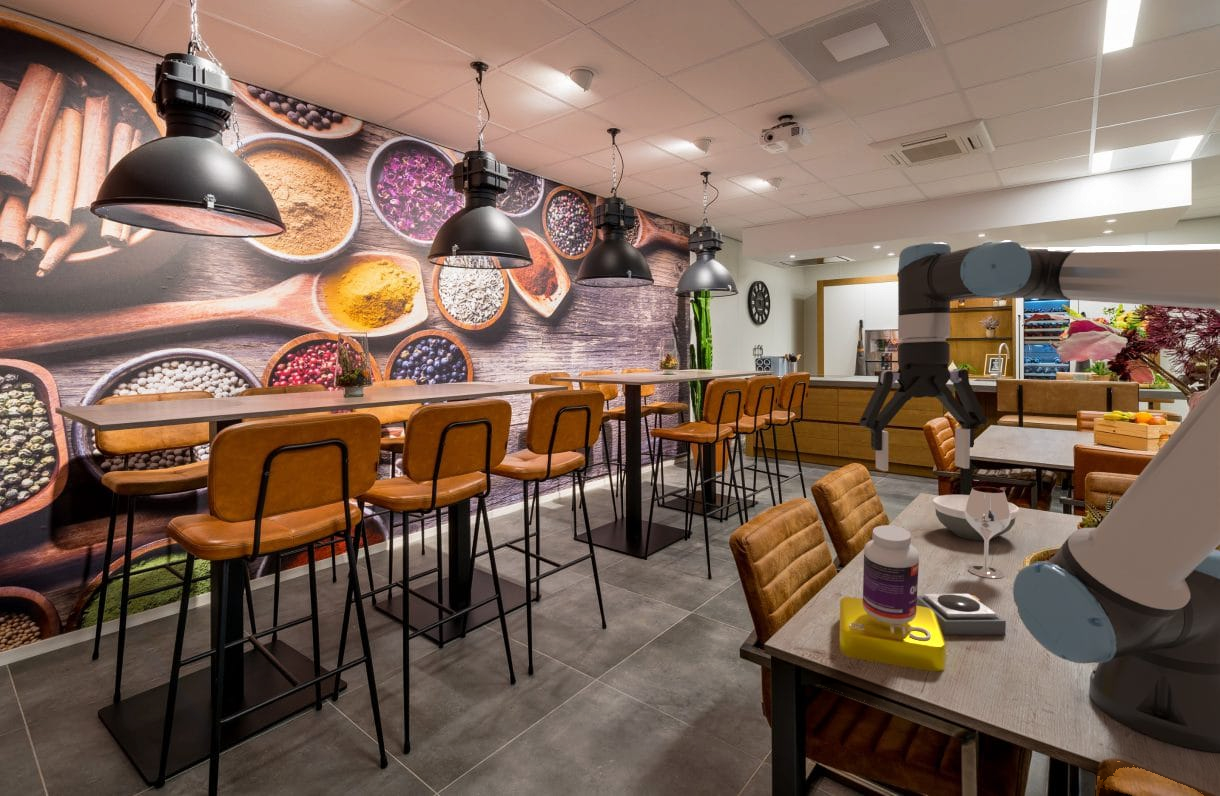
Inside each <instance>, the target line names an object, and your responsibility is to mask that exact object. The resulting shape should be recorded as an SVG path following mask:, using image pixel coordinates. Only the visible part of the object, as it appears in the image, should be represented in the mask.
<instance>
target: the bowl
mask: <svg viewBox="0 0 1220 796" xmlns="http://www.w3.org/2000/svg"><path fill="white" fill-rule="evenodd" d="M969 496H970V494H943V495H939V496H938V495H937V496H935V497H934V498H933V499H932V503H933V505H934V508H935V516H936V517H937V519H938V521H939V522H940V523H941V524H942V525H943V526H944V527H945V528H947V530H950V531H951V532H953V534H955V535H956V536H958V537H960V538H963V539H969V540H973V541H984V539H983V537H982V536H981V535H980V534H979V533H978V532H977V531H976V530H975V529H974V528H973V527H971V526H970V524H969V523H968V522H967V520H966V518H965V508H966V505H967V501H968V499H969ZM1007 502H1008V506H1009V510H1010V515H1011V521H1010V523H1009V525H1008V526H1007V527H1006V528H1005V529H1004V530H1003V531H1001V532H999V533H998V534H996V535H994V536H993V537H992V538H991V539H990V540H992V539H994V538H996V537H998V536H1001V535H1004V534H1005V533H1007V532H1008V531H1010V530H1011V529H1012V528H1013V526H1014V525H1015V522H1016V517H1017V514H1018V513H1019V511H1020V508H1019V507H1018V506H1017V505H1016V504H1014V503H1012V502H1009V501H1007Z"/></svg>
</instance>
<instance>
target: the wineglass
mask: <svg viewBox="0 0 1220 796" xmlns="http://www.w3.org/2000/svg"><path fill="white" fill-rule="evenodd" d="M969 495H970V496H969V499H968V501H967V505H966V508H965V518H966V520H967V522H968V523H969V524H970V526H971V527H973V528H974V529H975V530H976V531H977V532H978V533H979V534H980V535H981V536H982V537H983V539H984V540H983V541H984V542H983V543H984V544H983V565H972V566H969V567H968V572H969V573H971V574H973V575H974V576H978V577H980V578H986V579H988V578H989V579H1001V578H1004V576H1005V573H1004V572H1002V571H1001V570H1000V569H997V568H995V567H994V568H993V567H990V566H989V546H990V545H989V543H990V540H992V539H991V538H992V537H993V536H994V535H996V534H998V533H999V532H1001V531H1003V530H1004V529H1005V528H1006V527H1007V526H1008V525H1009V523H1010V521H1011V515H1010V510H1009V506H1008V502H1009V501H1008V500H1007V495H1006V492H1005V490H1003V489H1001V488H996V487H991V486H974V487H972V488H971V491H970V493H969Z"/></svg>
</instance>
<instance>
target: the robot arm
mask: <svg viewBox="0 0 1220 796" xmlns="http://www.w3.org/2000/svg"><path fill="white" fill-rule="evenodd" d="M898 260H899V261H898V269H897V270H898V271H897V288H898V289H897V290H898V291H897V292H898V295H897V296H898V297H897V299H898V301H897V302H898V304H897V306H898V307H897V309H898V310H897V312H898V314H897V315H898V316H897V323H898V324H897V325H898V326H897V338H898V340H901V342H899V343H898V345H897V364H898V369H897V371H896V372H893V371H889V370H882V371H879V373H878V376H877V377H878V378H877V380H878V381H877V385H876V387H875V388H874V391H873V393H872V395H871V397H870V399H869V401H868V403H867V405H866V407H865V409H864V411H863V413H862V415H861V418H860V419H859V420H858V423H859V425H860V427H863V428H866V429H869V431H870V447H871V450H873V451H875V469H876V470H879V471H882V472H888V471H889V431H887V430H885V428H886V427H887V426H888V425H889V423H890V422H891V421H892V420H893V419H894V418H895V416H896V415H897V414H898V413H899V411H900V410H901V409H902V408H903V407H904V405H905V404H906V403H907V402H908V401H910V400H911V399H912V398H916V399H918V398H921V399H922V398H935V399H937V400H938V401H939V402H940V403H941V404H942V405H943V406H944V408H945V409H946V411H948V413H949V414H950V415H951V416H952V417H953V418H954V420H955V421H956V422H957V424H958V425H959V426H960V427H958V426H957V427H955V429H954V431H955V432H954V436H955V437H954V466H955V467H959V468H962V469H964V470H965V469H970V464H971V463H970V462H971V461H970V458H971V457H970V456H971V453H970V452H971V448H974V446H975V430H978V429H979V428H980V426H982V425H986V424H987V422H988V419H987V417H986V414H985V413H984V411H983V408H982V407H981V404H980V403H979V400H978V398H977V396H976V393H975V392H974V390H973V388H972V387H973V386H971V383H970V378H969V377H970V376H969V371H968V370H967V369H966V368H964V369H962V368H954V369H953V370H949V367H948V366H949V364H950V360H951V359H950V358H951V357H950V355H951V354H950V351H951V350H950V349H951V348H950V345H951V343H949V341H946V339H949V338H950V337H951V302H955V301H964V300H965V301H966V300H973V299H1042V300H1043V299H1045V300H1062V301H1084V302H1100V303H1101V302H1102V303H1114V304H1115V303H1116V304H1131V305H1146V306H1159V307H1160V306H1161V307H1173V308H1174V307H1177V308H1192V309H1193V308H1194V309H1204V310H1218V311H1219V310H1220V243H1203V244H1202V243H1201V244H1197V243H1196V244H1164V245H1162V244H1160V245H1158V244H1157V245H1155V244H1154V245H1123V246H1122V245H1120V246H1119V245H1118V246H1117V245H1116V246H1115V245H1114V246H1113V245H1112V246H1085V247H1084V246H1082V247H1079V246H1078V247H1076V246H1074V247H1072V246H1071V247H1067V246H1066V247H1027V246H1022V245H1021V244H1019V242H1017V241H1014V240H1008V239H1007V240H1001V241H996V242H995V241H989V242H984V243H982V244H979V245H975V246H971V247H967V248H963V249H959V250H955V251H954V250H953V251H952V248H951V246H950V245H949V244H948V243H946V242H927V243H921V244H914V245H913V244H912V245H910V246H907V247H905V248H904V249H903V248H902V250H901V251H900V253H899V259H898ZM949 381H950V382H951V383H952V384H953V386H954V390H955V391H956V394H957V395H958V398H959V399H960V401H961V403H962V404H960V403H959V402H958V400H957V399H956V398H955V397H954V395H953V392H952V390H951V389H950V388H949V387H948V386H947V384H948V382H949ZM896 382H897V383H898V384H899V387H898V388H897V389H896V390H895V391H894V393H893V396H892V397H891V398H890V399H889V401H888V402H887V403H886V404H885V402H886V400H887V398H888V395H889V394H890V391H891V390H892V386H893V385H895V383H896ZM884 404H885V405H884ZM883 406H884V407H883ZM1219 546H1220V375H1219V376H1218V377H1217V379H1216V380H1215V381H1214V382H1213V383H1212V384H1211V386H1210V387H1209V389H1208V390H1207V391H1206V392H1205V394H1204V395H1203V396H1202V397H1201V399H1199V401H1197V403H1196V405H1194V406H1193V408H1192V410H1191V411H1190V412H1189V413H1188V414H1187V416H1186V417H1185V418H1184V419H1183V421H1181V423H1180V424H1179V426H1177V428H1176V429H1175V431H1174V432H1172V433H1171V436H1170V437H1169V438H1168V439H1167V441H1166V442H1164V444H1163V445H1162V446H1161V447H1160V449H1159V450H1158V451H1157V453H1156V454H1154V456H1153V458H1152V459H1151V460H1150V461H1149V462H1148V464H1147V465H1146V466H1145V467H1144V469H1143V470H1142V471H1141V472H1140V474H1139V475H1138V476H1137V477H1136V478H1135V480H1134V481H1133V482H1132V484H1131V485H1130V486H1129V487H1128V488H1127V489H1126V491H1125V492H1124V493H1123V495H1122V496H1121V497H1120V498H1119V500H1117V502H1116V503H1115V504H1114V505H1113V507H1112V508H1111V509H1110V510H1109V512H1108V513H1107V514H1106V515H1105V516H1104V518H1103V519H1102V520H1101V522H1100V523H1099V524H1098V526H1097V527H1083V528H1082V527H1081V528H1078V529H1076V530H1074V531H1073V532H1072V533H1071V534H1070V535H1069V536H1068V538H1067V539H1066V540H1065V541H1064V542H1063V544H1062V545H1061V546H1060V547H1059V549H1058V550H1057V552H1056V553H1055V554H1054V555H1053V556H1052V557H1051V558H1049V560H1047V561H1044V560H1043V561H1041V560H1040V561H1034V562H1033V563H1030V564H1029V565H1026V566H1025V567H1023V568H1022V569H1020V570H1019V571H1018V573H1017V575H1016V576H1015V578H1014V582H1013V587H1012V594H1013V601H1014V603H1015V605H1016V607H1017V613H1018V615H1019V618H1020V620H1021V622H1022V623H1023V625H1024V626H1025V628H1026V629H1027V631H1028V632H1029V634H1030V635H1031V636H1032V637H1033V638H1034V639H1035V640H1036V641H1037V642H1038V643H1039V644H1040V645H1041V646H1042V647H1043V648H1044V649H1045V650H1047V651H1048V652H1050V653H1051V654H1053V655H1055V656H1057V657H1058V658H1060V659H1062V660H1066V661H1068V662H1071V663H1077V664H1091V663H1096V664H1097V666H1096V667H1095V668H1093V669H1092V672H1091V673H1090V676H1089V691H1088V692H1089V696H1090V699H1091V700H1092V701H1093V702H1094V703H1095V704H1096V706H1097V707H1098V708H1099V709H1101V710H1102V711H1103V712H1105V713H1106V714H1107V715H1108V716H1110V717H1111V718H1113V719H1115V721H1117V722H1120V723H1121V724H1124V725H1125V726H1127V727H1129V728H1131V729H1133V730H1135V731H1138V732H1139V733H1142V734H1144V735H1147V736H1148V737H1151V738H1155V739H1157V740H1161V741H1164V742H1166V743H1170V744H1172V745H1177V746H1180V747H1185V748H1187V749H1193V750H1199V751H1204V752H1213V753H1214V752H1215V753H1220V550H1219V549H1217V547H1219Z"/></svg>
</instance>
